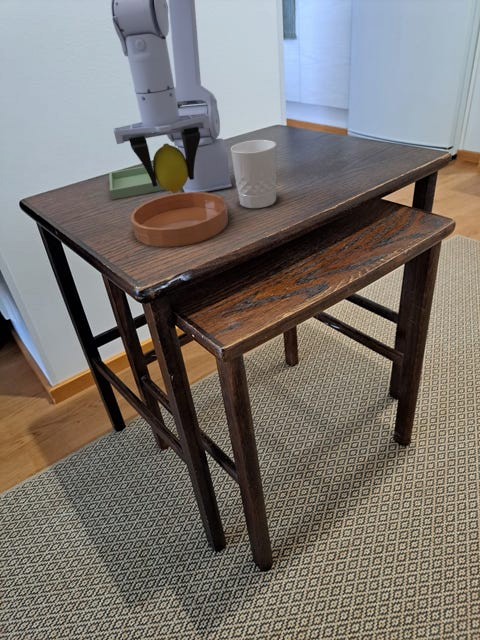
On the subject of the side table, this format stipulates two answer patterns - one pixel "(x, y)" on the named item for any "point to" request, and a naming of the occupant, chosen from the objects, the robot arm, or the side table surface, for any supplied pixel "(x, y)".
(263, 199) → the white cup
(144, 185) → the tray
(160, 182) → the lemon
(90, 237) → the side table surface
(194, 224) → the pan
